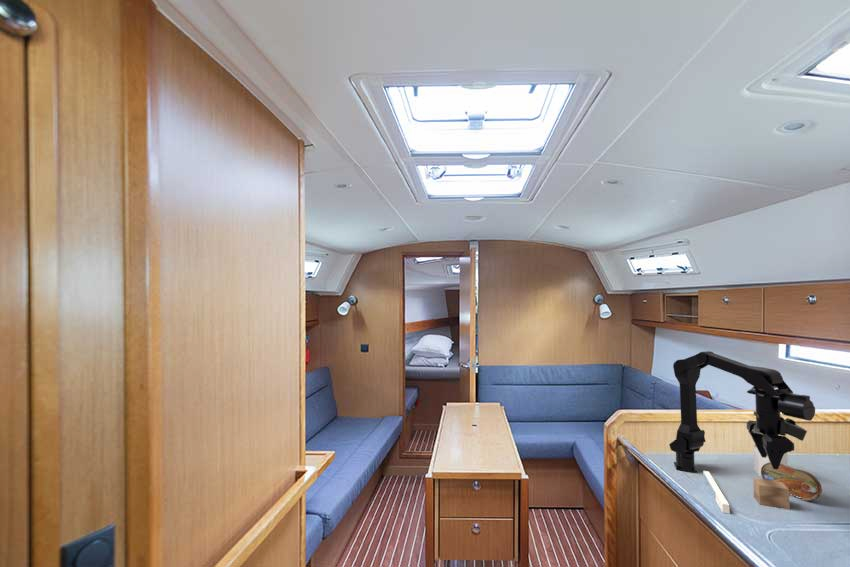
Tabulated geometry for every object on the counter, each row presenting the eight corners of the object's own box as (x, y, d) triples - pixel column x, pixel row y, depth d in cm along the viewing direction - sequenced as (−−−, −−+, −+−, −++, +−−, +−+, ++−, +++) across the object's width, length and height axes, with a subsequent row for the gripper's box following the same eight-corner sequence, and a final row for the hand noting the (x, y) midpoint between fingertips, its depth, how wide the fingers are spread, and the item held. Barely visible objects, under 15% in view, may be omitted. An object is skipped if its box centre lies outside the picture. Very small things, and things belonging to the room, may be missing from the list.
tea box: (759, 505, 120) (759, 484, 120) (753, 497, 125) (753, 477, 125) (789, 510, 117) (788, 489, 118) (782, 501, 122) (781, 481, 122)
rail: (702, 477, 138) (702, 470, 138) (709, 478, 137) (708, 471, 138) (721, 512, 116) (721, 503, 116) (729, 513, 115) (729, 504, 116)
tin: (760, 484, 134) (759, 458, 134) (766, 482, 135) (765, 457, 135) (818, 506, 119) (816, 477, 120) (824, 504, 121) (823, 475, 121)
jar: (790, 477, 138) (789, 442, 139) (785, 484, 133) (784, 447, 134) (757, 468, 145) (756, 435, 146) (751, 475, 140) (750, 440, 141)
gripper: (817, 423, 110) (819, 480, 110) (788, 406, 127) (790, 455, 127) (766, 418, 115) (768, 473, 114) (745, 402, 132) (746, 450, 131)
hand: (769, 463), depth 122 cm, fingers open, 9 cm apart
